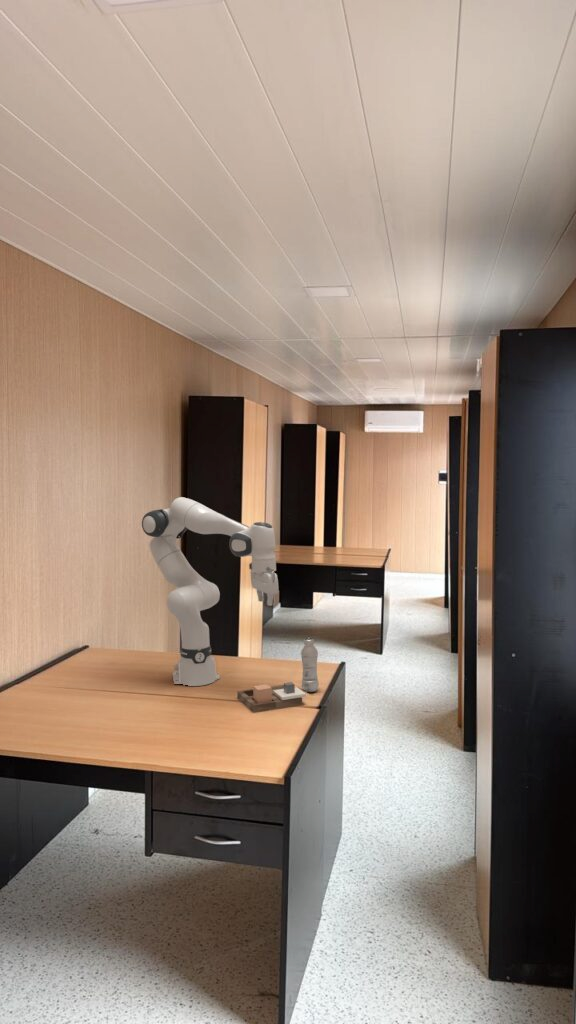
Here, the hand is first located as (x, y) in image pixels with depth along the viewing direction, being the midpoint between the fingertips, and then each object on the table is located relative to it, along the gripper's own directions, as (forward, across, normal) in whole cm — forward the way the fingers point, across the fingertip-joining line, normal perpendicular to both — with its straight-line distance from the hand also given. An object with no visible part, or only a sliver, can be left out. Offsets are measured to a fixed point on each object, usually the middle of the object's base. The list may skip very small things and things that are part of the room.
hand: (265, 603), depth 278 cm
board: (+34, -12, +4) cm, 36 cm away
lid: (+30, -16, -2) cm, 35 cm away
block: (+33, -16, +8) cm, 38 cm away
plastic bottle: (+34, -5, -15) cm, 38 cm away
